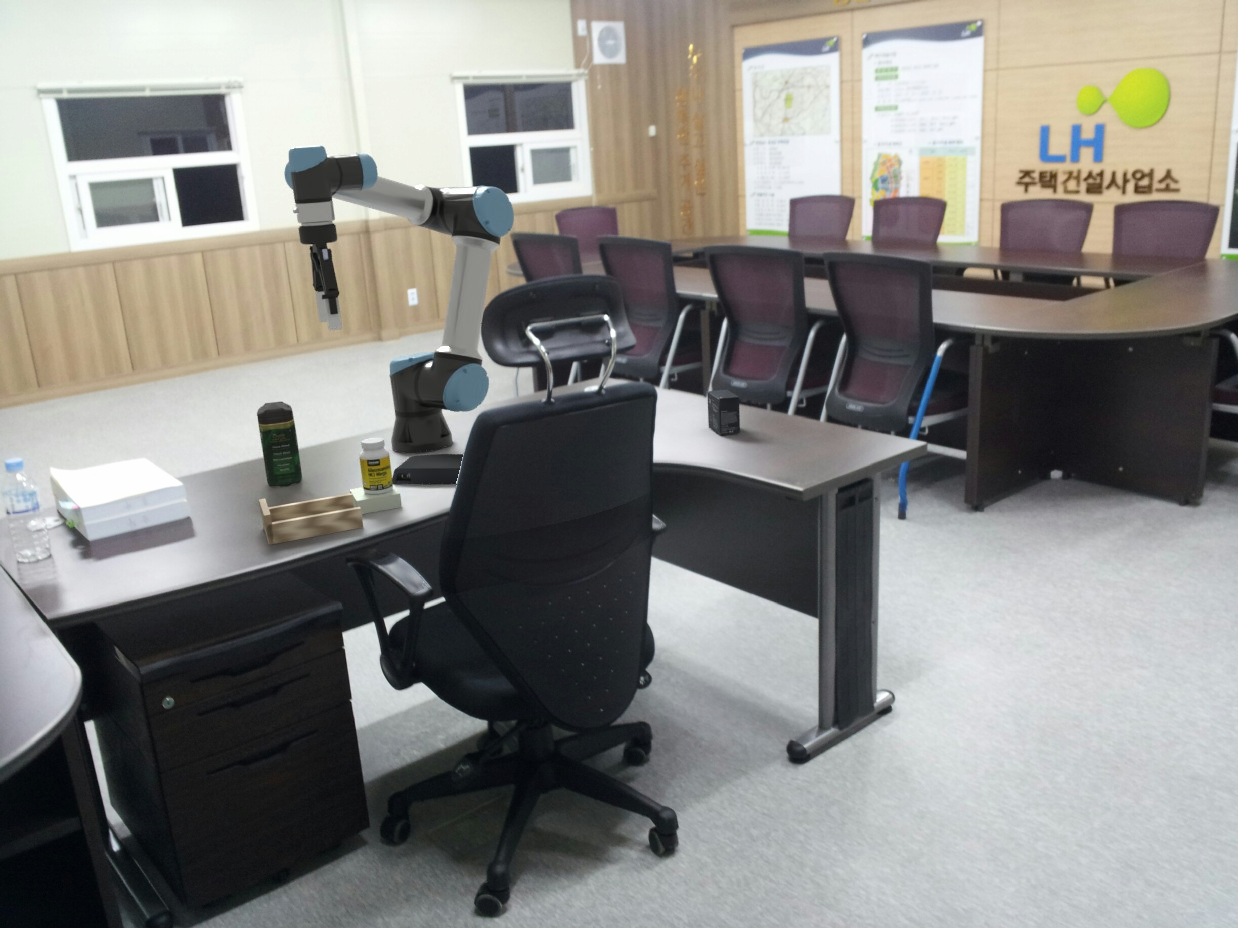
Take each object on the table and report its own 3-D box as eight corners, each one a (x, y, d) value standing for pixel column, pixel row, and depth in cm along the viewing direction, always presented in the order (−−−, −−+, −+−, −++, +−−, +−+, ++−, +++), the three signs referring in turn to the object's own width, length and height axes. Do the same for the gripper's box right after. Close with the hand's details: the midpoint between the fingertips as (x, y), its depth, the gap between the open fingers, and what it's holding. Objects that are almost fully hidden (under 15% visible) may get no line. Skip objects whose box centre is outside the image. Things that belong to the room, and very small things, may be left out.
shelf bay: (353, 511, 226) (350, 483, 224) (363, 527, 216) (359, 498, 214) (263, 527, 219) (258, 499, 218) (268, 544, 209) (264, 515, 207)
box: (741, 433, 265) (740, 396, 263) (719, 436, 264) (718, 398, 262) (728, 425, 274) (727, 388, 271) (707, 427, 273) (706, 391, 270)
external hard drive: (411, 469, 255) (409, 452, 254) (490, 469, 251) (488, 452, 250) (390, 486, 243) (388, 469, 241) (472, 486, 239) (470, 469, 238)
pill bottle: (369, 497, 224) (363, 445, 221) (359, 490, 229) (352, 440, 226) (397, 490, 227) (391, 440, 224) (387, 484, 232) (381, 434, 229)
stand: (393, 495, 235) (391, 482, 234) (401, 506, 226) (400, 493, 226) (351, 502, 231) (349, 489, 230) (358, 514, 223) (356, 501, 222)
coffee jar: (304, 485, 246) (292, 406, 241) (268, 490, 244) (255, 410, 238) (302, 474, 255) (290, 397, 249) (267, 479, 253) (255, 401, 247)
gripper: (291, 222, 234) (305, 320, 240) (305, 228, 211) (321, 335, 218) (326, 219, 236) (339, 316, 242) (344, 225, 214) (358, 331, 220)
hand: (330, 325), depth 230 cm, fingers open, 13 cm apart
